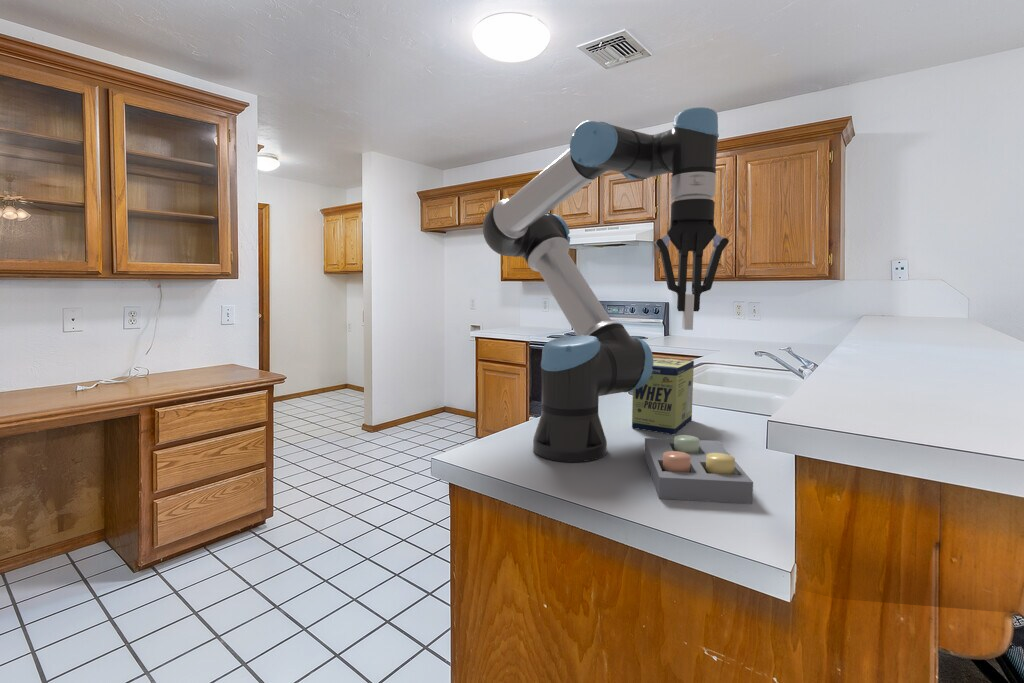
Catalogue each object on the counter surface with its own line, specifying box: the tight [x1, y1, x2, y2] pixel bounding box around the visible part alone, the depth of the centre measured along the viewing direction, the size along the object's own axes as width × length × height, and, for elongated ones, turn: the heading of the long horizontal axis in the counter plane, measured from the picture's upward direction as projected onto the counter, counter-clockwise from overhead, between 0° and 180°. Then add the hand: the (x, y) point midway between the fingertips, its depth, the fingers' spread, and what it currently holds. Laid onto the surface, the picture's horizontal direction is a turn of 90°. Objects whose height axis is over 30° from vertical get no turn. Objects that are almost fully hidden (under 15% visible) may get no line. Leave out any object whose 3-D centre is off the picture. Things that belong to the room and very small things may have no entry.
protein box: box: [631, 357, 695, 435], centre depth 122 cm, size 10×16×16 cm
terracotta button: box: [663, 451, 691, 473], centre depth 84 cm, size 4×4×3 cm
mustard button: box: [706, 453, 736, 475], centre depth 83 cm, size 4×4×3 cm
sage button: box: [673, 434, 700, 453], centre depth 93 cm, size 4×4×3 cm
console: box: [643, 437, 754, 505], centre depth 88 cm, size 14×21×4 cm, turn 171°
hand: (687, 328), depth 93 cm, fingers closed
